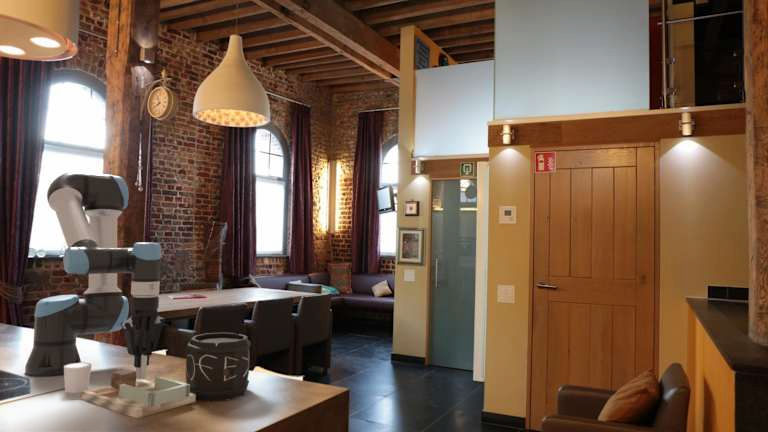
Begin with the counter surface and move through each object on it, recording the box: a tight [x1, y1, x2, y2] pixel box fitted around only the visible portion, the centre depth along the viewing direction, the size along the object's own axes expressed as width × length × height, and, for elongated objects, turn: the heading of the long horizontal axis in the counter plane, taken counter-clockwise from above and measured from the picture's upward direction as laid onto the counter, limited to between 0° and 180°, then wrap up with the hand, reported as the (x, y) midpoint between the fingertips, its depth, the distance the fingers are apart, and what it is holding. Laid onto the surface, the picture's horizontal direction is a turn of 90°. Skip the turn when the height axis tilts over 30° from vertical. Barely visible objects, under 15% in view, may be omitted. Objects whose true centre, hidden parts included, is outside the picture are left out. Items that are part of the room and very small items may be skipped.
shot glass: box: [63, 362, 92, 394], centre depth 153 cm, size 7×7×7 cm
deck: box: [80, 378, 197, 419], centre depth 146 cm, size 25×17×2 cm
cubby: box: [119, 375, 190, 407], centre depth 143 cm, size 14×12×3 cm
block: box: [110, 368, 137, 389], centre depth 151 cm, size 4×4×4 cm
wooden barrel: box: [185, 332, 251, 402], centre depth 155 cm, size 18×18×16 cm
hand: (140, 378), depth 156 cm, fingers closed
